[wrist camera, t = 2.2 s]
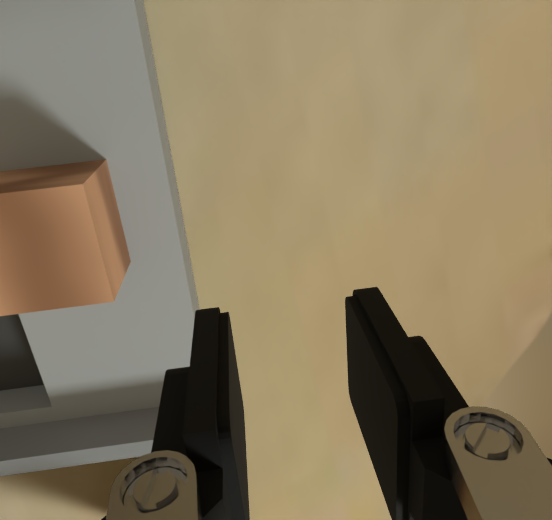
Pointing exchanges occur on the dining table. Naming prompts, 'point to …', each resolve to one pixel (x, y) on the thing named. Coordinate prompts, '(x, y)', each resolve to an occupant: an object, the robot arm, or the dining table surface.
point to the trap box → (136, 225)
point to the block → (59, 238)
